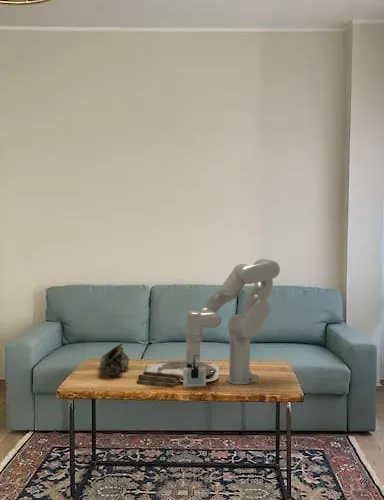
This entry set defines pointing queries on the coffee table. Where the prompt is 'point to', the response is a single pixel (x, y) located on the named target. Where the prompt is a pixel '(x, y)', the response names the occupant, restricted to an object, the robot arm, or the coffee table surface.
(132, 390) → the coffee table surface
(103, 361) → the hollow geode rock
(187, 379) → the picture frame
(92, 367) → the coffee table surface
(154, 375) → the picture ledge
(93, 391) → the coffee table surface
